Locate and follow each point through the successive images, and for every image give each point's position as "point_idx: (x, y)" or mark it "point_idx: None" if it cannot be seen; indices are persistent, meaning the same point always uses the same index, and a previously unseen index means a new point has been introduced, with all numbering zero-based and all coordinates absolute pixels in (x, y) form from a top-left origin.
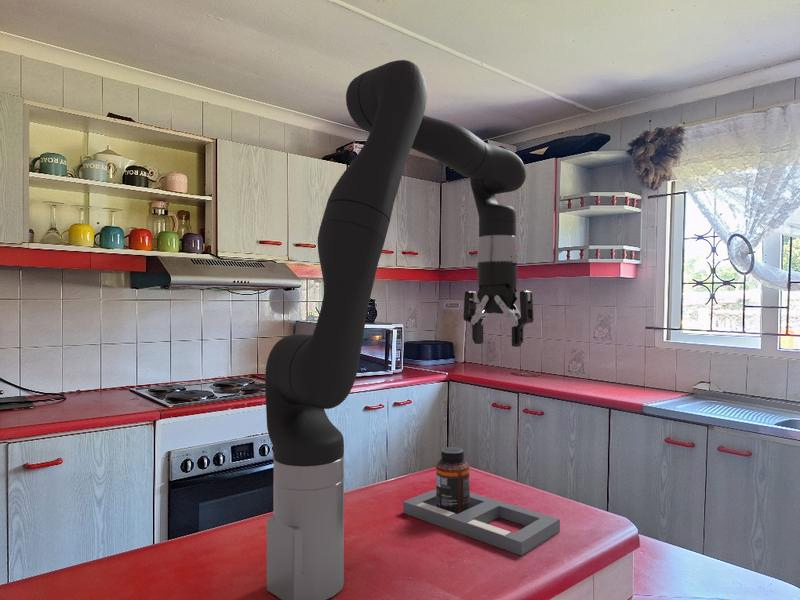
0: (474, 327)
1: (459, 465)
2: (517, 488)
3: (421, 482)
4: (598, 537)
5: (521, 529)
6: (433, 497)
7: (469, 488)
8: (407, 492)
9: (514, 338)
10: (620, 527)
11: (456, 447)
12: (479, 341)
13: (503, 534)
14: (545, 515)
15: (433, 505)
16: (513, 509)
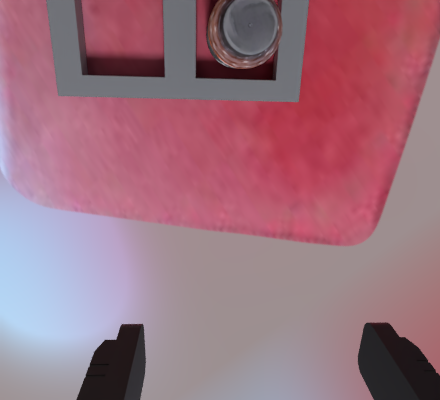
0: (436, 394)
1: (219, 14)
2: (216, 212)
3: (366, 126)
4: (13, 113)
5: (73, 5)
6: None
7: (213, 53)
8: (358, 64)
9: (115, 352)
10: (14, 171)
11: (255, 52)
12: (367, 346)
13: None
14: (82, 92)
15: None
16: (136, 79)
